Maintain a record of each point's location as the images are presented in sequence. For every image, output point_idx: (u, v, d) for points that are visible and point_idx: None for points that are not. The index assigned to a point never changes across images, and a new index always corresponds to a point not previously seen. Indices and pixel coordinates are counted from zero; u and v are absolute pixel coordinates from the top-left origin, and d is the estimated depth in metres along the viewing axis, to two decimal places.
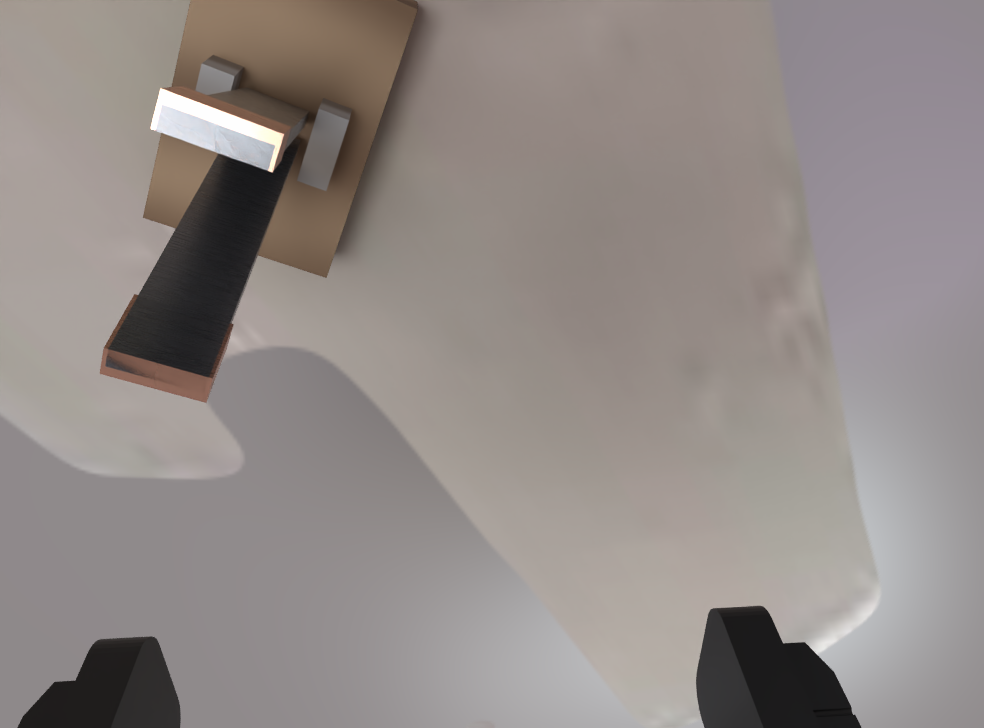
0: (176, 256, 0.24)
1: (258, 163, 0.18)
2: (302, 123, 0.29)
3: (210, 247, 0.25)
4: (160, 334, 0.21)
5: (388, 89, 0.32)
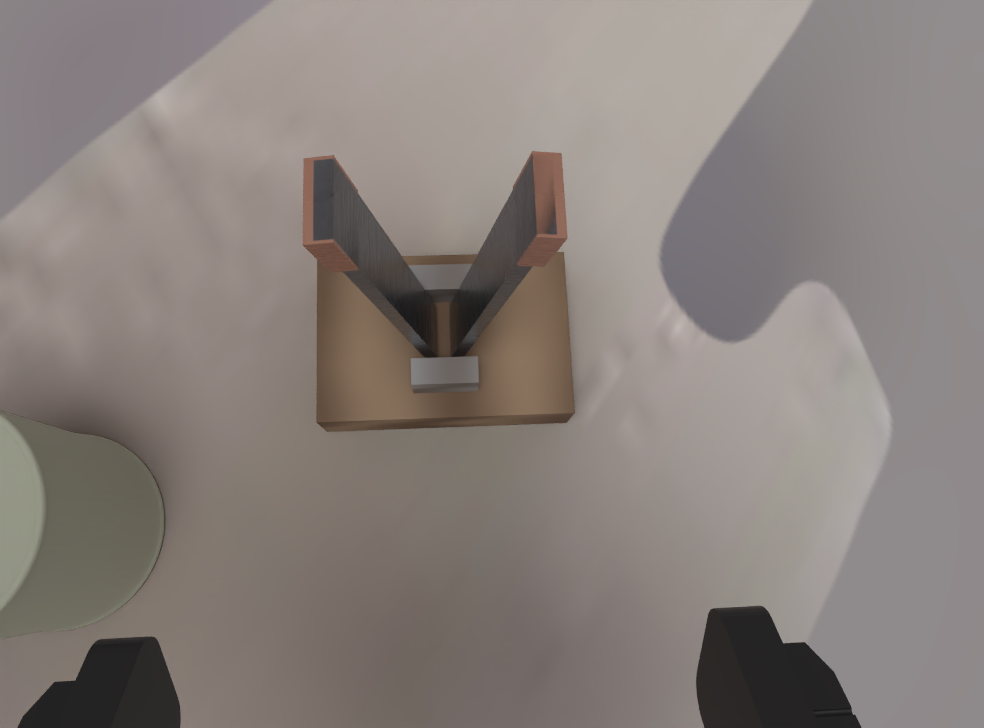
0: (500, 275, 0.27)
1: (330, 166, 0.23)
2: None
3: (492, 264, 0.29)
4: (525, 218, 0.24)
5: None
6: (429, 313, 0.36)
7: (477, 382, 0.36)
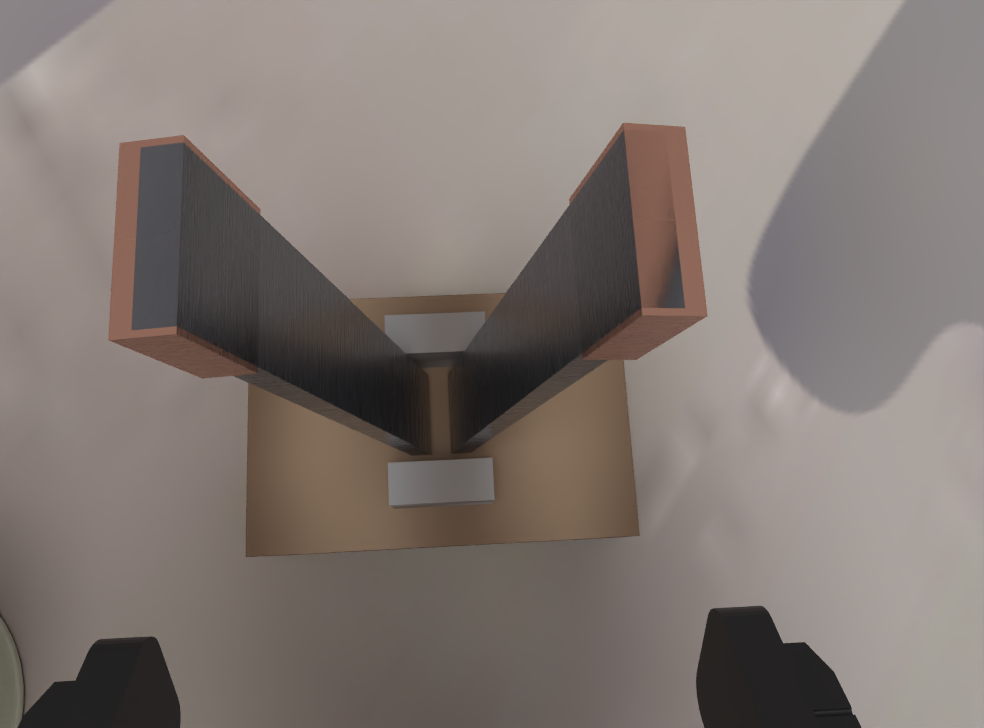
0: (540, 362, 0.15)
1: (176, 159, 0.10)
2: None
3: (524, 337, 0.16)
4: (605, 266, 0.11)
5: None
6: (416, 391, 0.23)
7: (492, 499, 0.23)
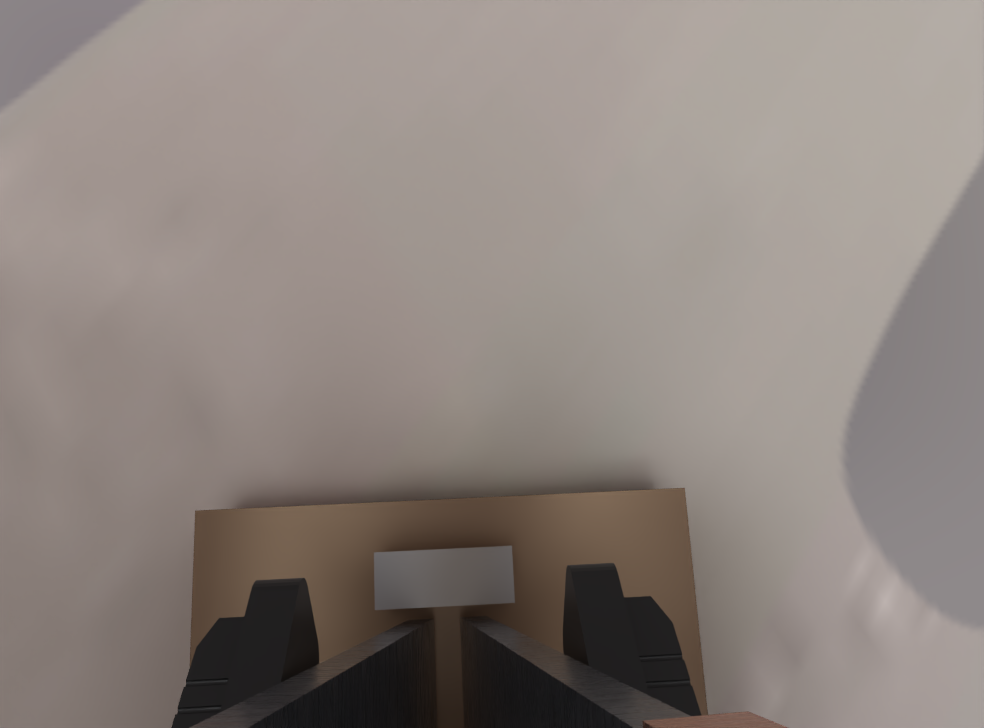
0: None
1: None
2: (390, 634, 0.15)
3: None
4: None
5: (329, 507, 0.19)
6: (422, 668, 0.17)
7: None
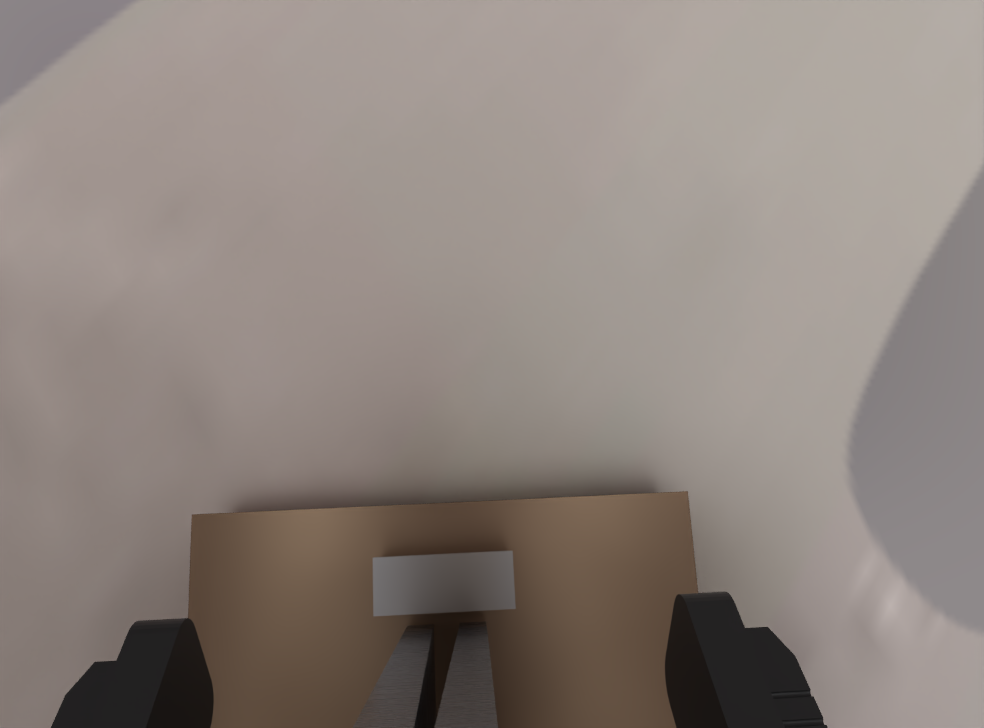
0: None
1: None
2: (413, 641, 0.15)
3: None
4: None
5: (327, 511, 0.19)
6: (433, 674, 0.16)
7: None
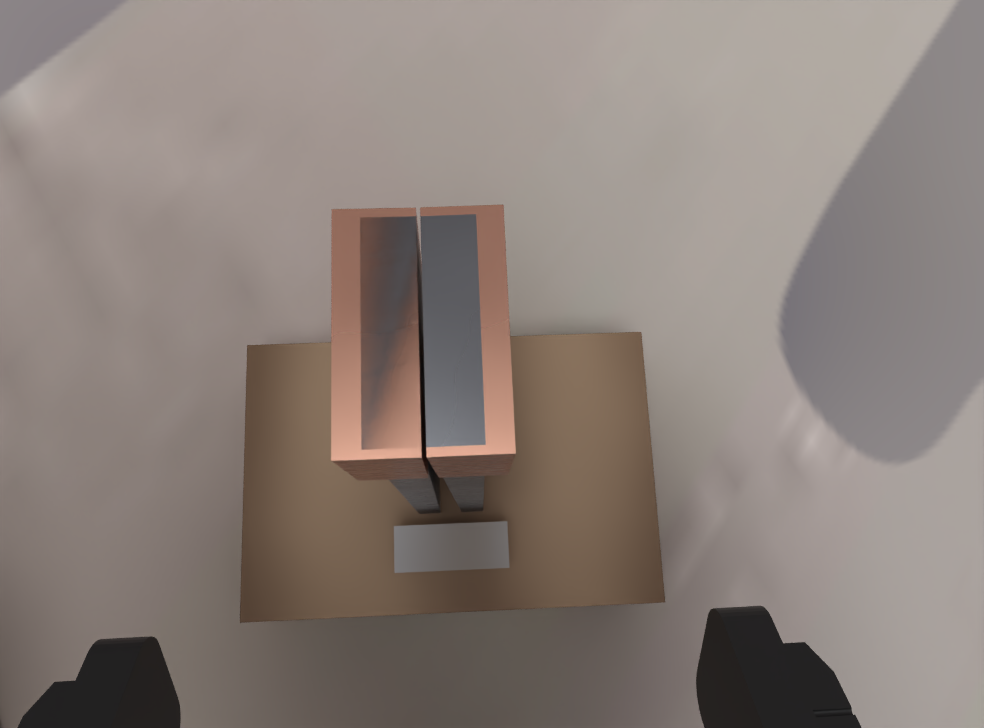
0: None
1: (408, 237, 0.09)
2: None
3: None
4: None
5: None
6: None
7: (506, 567, 0.21)
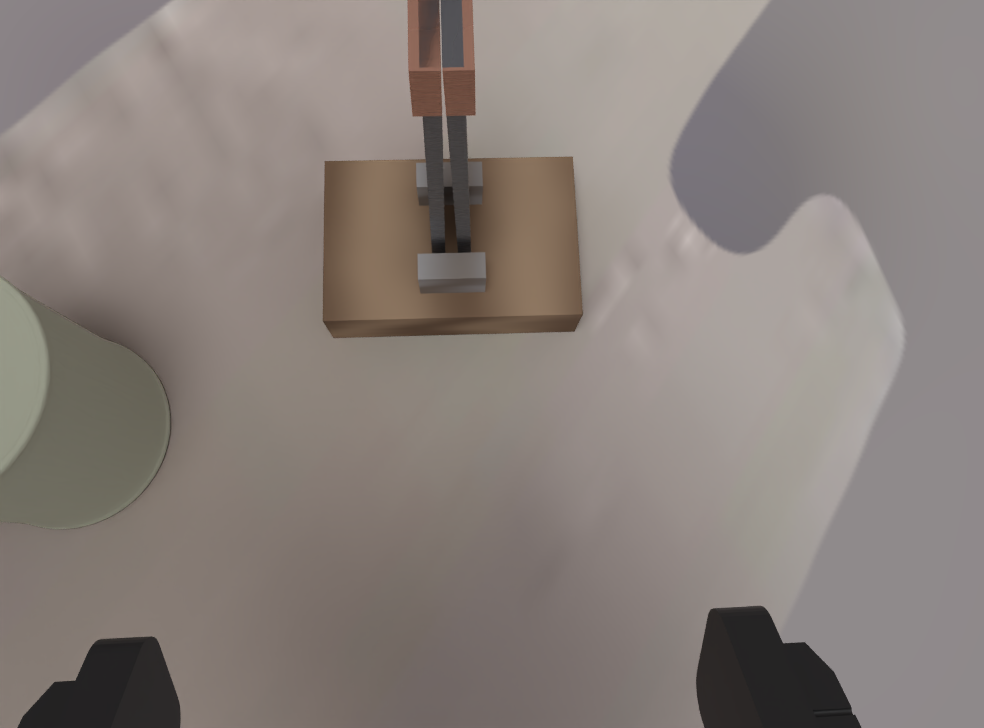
0: None
1: None
2: None
3: None
4: None
5: (392, 161, 0.38)
6: None
7: (484, 278, 0.35)
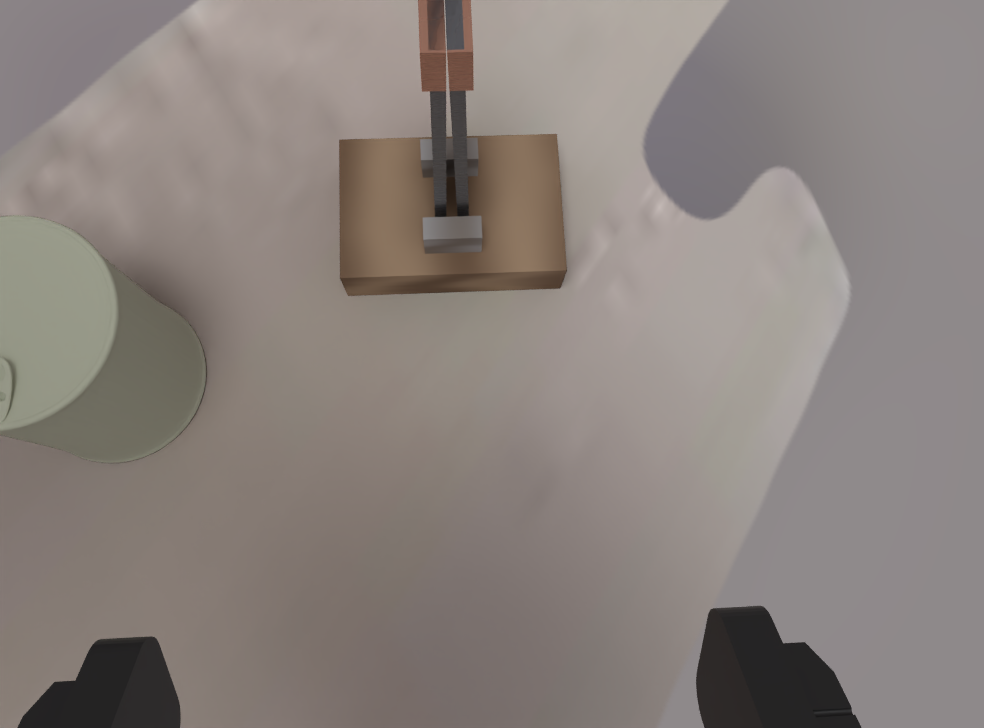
0: None
1: None
2: None
3: None
4: None
5: (398, 139, 0.44)
6: None
7: (481, 238, 0.41)
